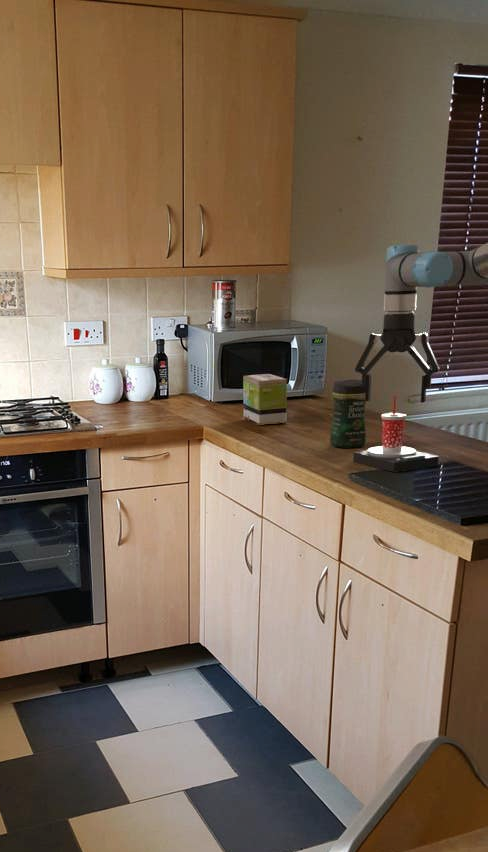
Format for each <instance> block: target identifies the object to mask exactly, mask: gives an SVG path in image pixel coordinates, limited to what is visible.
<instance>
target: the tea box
mask: <svg viewBox="0 0 488 852" xmlns="http://www.w3.org/2000/svg"><path fill="white" fill-rule="evenodd" d="M242 379H243V380H242V381H243V382H242V384H243V386H242V387H243V391H242V392H243V417H244V416H245V417H247V418H249V419H251V420H253V421H255V422H257V423H269V422H281V421H286V422H287V409H288V407H287V406H288V404H287V403H288V402H287V400H288V399H287V396H288V393H287V389H288V380H287V378H284V377H281V376H278V375H274V374H271V373H263V374H262V373H261V374H251V375H250V374H249V375H243V377H242Z"/></svg>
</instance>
